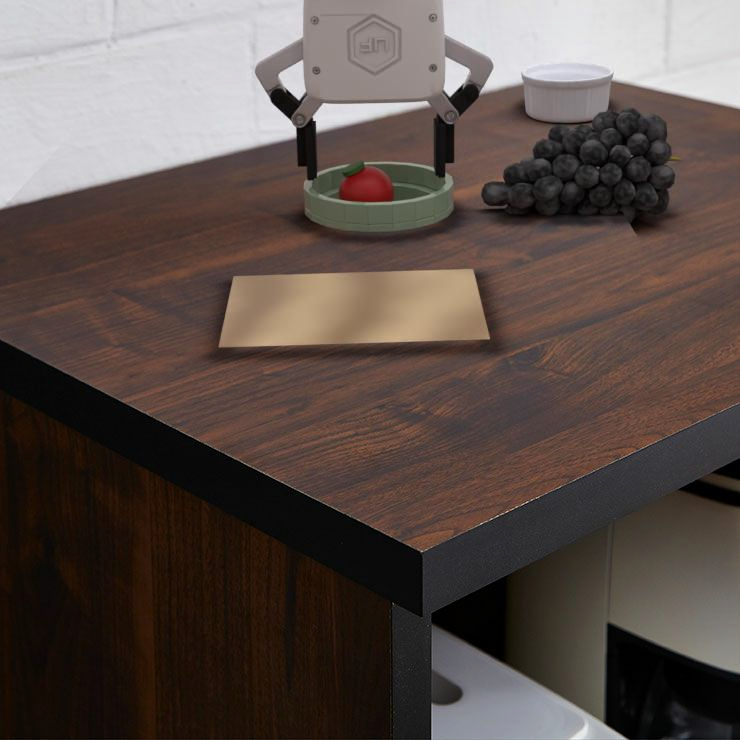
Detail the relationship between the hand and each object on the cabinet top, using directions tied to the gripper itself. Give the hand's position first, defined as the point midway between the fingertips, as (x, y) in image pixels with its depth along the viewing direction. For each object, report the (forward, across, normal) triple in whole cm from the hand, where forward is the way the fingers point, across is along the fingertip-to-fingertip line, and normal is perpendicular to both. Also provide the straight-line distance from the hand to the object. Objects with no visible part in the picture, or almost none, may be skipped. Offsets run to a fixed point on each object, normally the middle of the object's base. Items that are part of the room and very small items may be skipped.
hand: (376, 174), depth 104 cm
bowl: (+4, 0, 0) cm, 4 cm away
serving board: (+4, -2, -20) cm, 20 cm away
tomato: (+3, 0, 0) cm, 3 cm away
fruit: (+4, +15, 0) cm, 16 cm away
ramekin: (+4, +19, +33) cm, 38 cm away
